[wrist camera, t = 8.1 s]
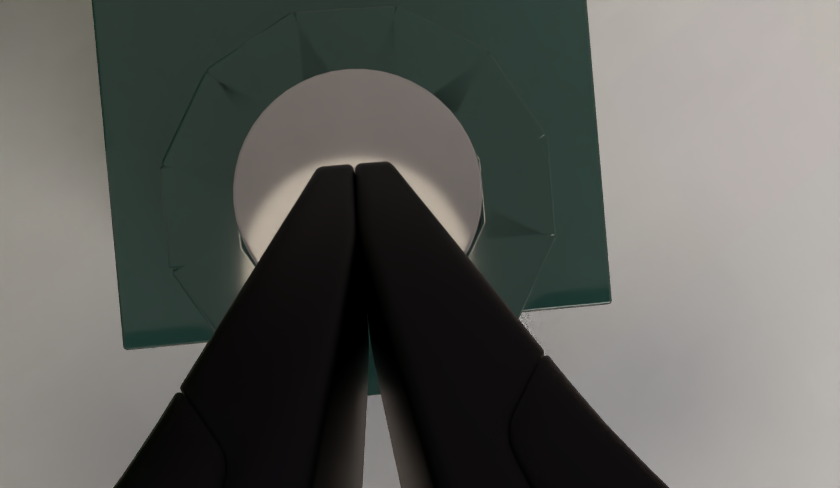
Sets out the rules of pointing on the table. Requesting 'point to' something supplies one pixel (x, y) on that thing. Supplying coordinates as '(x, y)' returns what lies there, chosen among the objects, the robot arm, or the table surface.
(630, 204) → the table surface
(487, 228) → the green button box
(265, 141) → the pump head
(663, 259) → the table surface
